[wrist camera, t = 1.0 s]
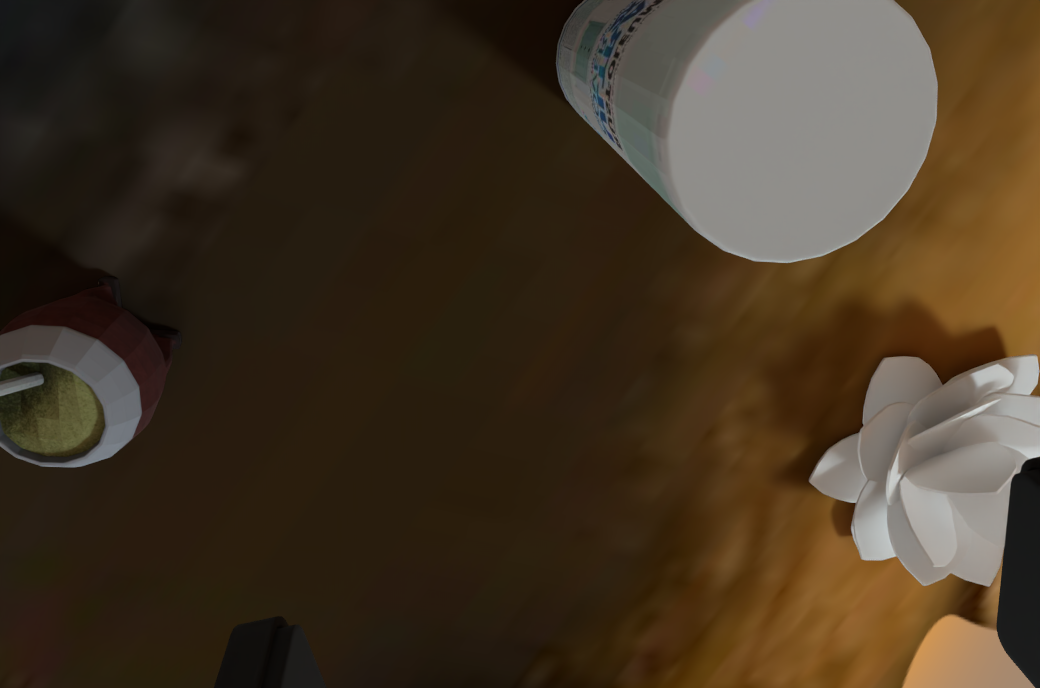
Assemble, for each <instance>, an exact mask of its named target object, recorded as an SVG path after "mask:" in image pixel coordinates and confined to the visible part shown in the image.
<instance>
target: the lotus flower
mask: <svg viewBox="0 0 1040 688" xmlns="http://www.w3.org/2000/svg"><path fill="white" fill-rule="evenodd" d="M1038 376H1039V366H1038V358H1037V355H1034V354H1031V355H1021V356H1012V357H1007V358H1003V359H1000V360H997V361H993V362H990V363H987V364H984V365H981V366H979V367H976V368H973V369H970V370H968V371H966V372H963V373H961V374H959V375H957V376H955V377H953V378H951V379H950V380H949V381H948V382H947V383H945V384H944V385H943V384H942V383H941V381H940V379H939V377H938V376H937V374H936V373H935V371H934V370H933V369H932V368H931V366H930V365H929V364H927V363H926V362H924V361H923V360H922V359H920V358H919V357H909V356H898V357H887V358H884V359H883V360H882V361H881V363H880V364H879V366H878V368H877V370H876V371H875V373H874V375H873V376H872V378H871V381H870V384H869V387H868V390H867V394H866V399H865V403H864V408H863V421H862V423H863V425H864V426H863V427H862V428H861V429H860V433H856V434H853V435H851V436H849V437H847V438H845V439H842V440H840V441H839V442H837V443H836V444H834V445H833V446H832V447H830V448H829V449H827V451H826V452H825V453H824V455H823V456H822V457H821V459H820V460H819V461H818V463H817V465H816V466H815V468H814V470H813V472H812V474H811V476H810V478H809V482H810V483H811V484H812V485H813V486H814V487H816V488H817V489H818V490H819V491H820V492H822V493H823V494H825V495H828V496H830V497H832V498H835V499H838V500H842V501H846V502H850V503H856V505H855V509H854V514H853V519H852V524H851V532H852V536H853V540H854V542H855V544H856V546H857V548H858V551H859V554H860V557H861V559H863V560H885V559H888V558H892V557H895V556H897V557H898V559H899V560H900V561H901V563H902V564H903V565H904V567H905V568H906V569H907V570H908V571H909V572H910V573H911V574H912V575H913V576H914V577H915V578H916V579H917V580H918V581H919V582H920V583H921V584H922V585H923V586H927V585H930V584H932V583H934V582H937V581H939V580H941V579H944V578H945V577H946V576H948V575H949V574H950V573H952V574H954V575H956V576H958V577H960V578H962V579H965V580H967V581H971V582H974V583H978V584H981V585H985V586H990V585H991V584H992V582H993V580H994V578H995V576H996V574H997V572H998V570H999V567H1000V564H1001V560H1002V555H1003V549H1004V546H1005V536H1006V526H1007V516H1008V506H1009V496H1010V487H1011V481H1012V477H1013V476H1014V475H1015V474H1017V473H1020V471H1021V467H1022V465H1023V463H1024V462H1025V461H1026V460H1028V459H1031V458H1036V457H1040V396H1034V395H1030V394H1031V392H1032V391H1033V389H1034V388H1035V387H1036V385H1037V383H1038Z"/></svg>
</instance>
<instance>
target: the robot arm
mask: <svg viewBox="0 0 1040 688" xmlns="http://www.w3.org/2000/svg"><path fill="white" fill-rule="evenodd" d="M997 632H998V637H999V639H1000V642H1001V644H1002V646H1003V648H1004V650H1005V651H1006V653H1007V654H1008V655H1009V657H1010V658H1011V659H1012V660H1013V662H1014V663H1015V664H1016V665H1017V666H1018V668H1019V669H1020V670H1021V671H1022V672H1023V673H1024V675H1025V676H1026V677H1027V678H1028V679H1029V680H1030V682H1031V683H1032V684H1033V685H1034V687H1035V688H1040V457H1036V458H1031V459H1028V460H1026V461H1025V462H1024V463H1023V465H1022V467H1021V471H1020V473H1017V474H1015V475H1014V476H1013V477H1012V481H1011V487H1010V496H1009V506H1008V516H1007V526H1006V536H1005V546H1004V556H1003V566H1002V576H1001V586H1000V596H999V606H998V615H997ZM214 688H326V686H325V683H324V681H323V678H322V676H321V673H320V671H319V668H318V666H317V663H316V661H315V659H314V656H313V654H312V651H311V649H310V646H309V644H308V641H307V639H306V636H305V634H304V631H303V629H302V628H301V626H300V625H292V626H288V624H287V622H286V620H285V619H284V618H283V617H279V616H278V617H273V618H269V619H264V620H259V621H254V622H250V623H245V624H240V625H237V626H236V627H235V628H234V629H233V631H232V633H231V636H230V639H229V642H228V645H227V648H226V651H225V655H224V658H223V661H222V664H221V667H220V670H219V674H218V677H217V680H216V683H215V686H214Z"/></svg>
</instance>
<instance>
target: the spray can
mask: <svg viewBox="0 0 1040 688" xmlns="http://www.w3.org/2000/svg"><path fill="white" fill-rule="evenodd" d="M556 67H557V73H558V79H559V83H560V86H561V88H562V90H563V92H564V95H565V97H566V99H567V100H568V102H569V103H570V104H571V105H572V107H573V108H574V109H575V110H576V112H577V113H578V114H579V115H580V116H581V117H582V118H583V119H584V120H585V121H586V122H587V123H588V124H589V125H590V126H591V127H592V128H593V129H594V130H595V131H596V132H597V133H598V134H599V135H600V136H601V137H602V138H603V139H604V140H605V141H606V142H607V143H608V144H609V145H610V146H611V147H612V148H613V149H614V150H615V151H616V152H617V153H618V154H619V155H620V156H621V157H622V158H623V159H624V160H625V161H626V162H627V163H628V164H629V165H630V166H631V167H632V168H633V169H634V170H635V171H636V172H637V173H638V174H639V175H640V176H641V177H642V178H643V179H644V180H645V181H646V182H647V183H648V184H649V185H650V186H651V187H652V188H653V189H654V190H655V191H656V192H657V193H658V194H659V195H660V196H661V197H662V198H663V199H664V200H665V201H666V202H667V203H668V204H669V205H670V206H671V207H672V208H673V209H674V210H675V211H676V212H677V213H678V214H679V215H680V216H681V217H682V218H683V219H684V220H685V221H686V222H687V223H688V224H689V225H690V226H691V227H692V228H693V229H694V230H695V231H696V232H698V233H699V234H701V235H702V236H704V237H705V238H706V239H708V240H709V241H711V242H712V243H713V244H715V245H716V246H718V247H719V248H721V249H722V250H724V251H726V252H729V253H732V254H735V255H738V256H741V257H744V258H747V259H750V260H753V261H762V262H781V263H790V262H795V261H800V260H805V259H810V258H815V257H820V256H823V255H825V254H828V253H830V252H832V251H834V250H836V249H838V248H841V247H843V246H845V245H847V244H849V243H851V242H853V241H855V240H856V239H858V238H859V237H860V236H862V235H863V234H864V233H866V232H867V231H868V230H870V229H871V228H872V227H873V226H875V225H876V224H877V223H879V222H880V221H881V220H883V219H884V218H885V217H886V215H887V214H888V213H889V212H890V211H891V210H892V208H893V207H894V206H895V205H896V204H897V202H898V201H899V200H900V199H901V198H902V197H903V195H904V194H905V193H906V192H907V191H908V189H909V187H910V186H911V184H912V182H913V180H914V178H915V176H916V174H917V173H918V171H919V169H920V167H921V165H922V163H923V162H924V160H925V158H926V155H927V152H928V148H929V144H930V141H931V137H932V134H933V130H934V127H935V123H936V114H937V89H938V83H937V78H936V74H935V70H934V65H933V61H932V56H931V52H930V48H929V46H928V45H927V43H926V41H925V39H924V37H923V36H922V34H921V32H920V30H919V29H918V27H917V25H916V23H915V22H914V20H913V18H912V17H911V16H910V15H909V14H908V13H907V12H906V11H905V10H904V9H903V8H902V7H900V6H899V5H898V4H897V3H896V2H895V1H894V0H584V1H583V2H582V3H581V4H580V5H578V6H577V7H576V8H575V9H574V11H573V13H572V14H571V16H570V17H569V19H568V20H567V22H566V23H565V25H564V27H563V30H562V33H561V36H560V39H559V42H558V46H557V57H556Z"/></svg>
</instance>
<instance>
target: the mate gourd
mask: <svg viewBox="0 0 1040 688" xmlns="http://www.w3.org/2000/svg"><path fill="white" fill-rule="evenodd" d="M181 343H182V340H181V334H180V332H179V331H170V330H150V329H148V327H146V326H145V325H144V324H143V323H142V322H141V321H139V320H138V319H137V318H136V317H135V316H134V315H132V314H131V313H130V312H129V311H128V310H125V309H123V308H122V303H121V295H120V287H119V282H118V279H117V278H115V277H108V276H105V277H102V278H101V279H98V287H94V288H89V289H85V290H83V291H81V292H79V293H78V294H76V295H74V296H70V297H67V298H63V299H60V300H57V301H54V302H51V303H48V304H45V305H43V306H40V307H37V308H34V309H31V310H28V311H26V312H24V313H22V314H20V315H18V316H16V317H15V318H14V319H13V320H12V321H11V322H10V323H9V324H7V325H6V326H5V327H4V328H3V329H2V330H1V331H0V446H1V447H2V448H3V449H5V450H6V451H7V452H9V453H10V454H12V455H13V456H14V457H16V458H19V459H22V460H25V461H28V462H31V463H34V464H36V465H39V466H47V467H80V466H84V465H87V464H90V463H93V462H96V461H100V460H103V459H106V458H109V457H111V456H113V455H114V454H115V453H116V452H117V451H118V450H120V449H122V448H123V447H124V446H125V445H126V444H127V443H129V442H130V441H131V440H132V439H133V438H134V437H135V436H137V435H138V434H139V433H140V432H141V431H142V430H143V429H144V428H145V427H146V426H147V425H148V424H149V423H150V420H151V418H152V416H153V413H154V411H155V408H156V406H157V404H158V401H159V399H160V396H161V394H162V392H163V389H164V385H165V380H166V375H167V372H168V370H169V368H170V366H171V364H172V349H179V348H180V346H181Z"/></svg>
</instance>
